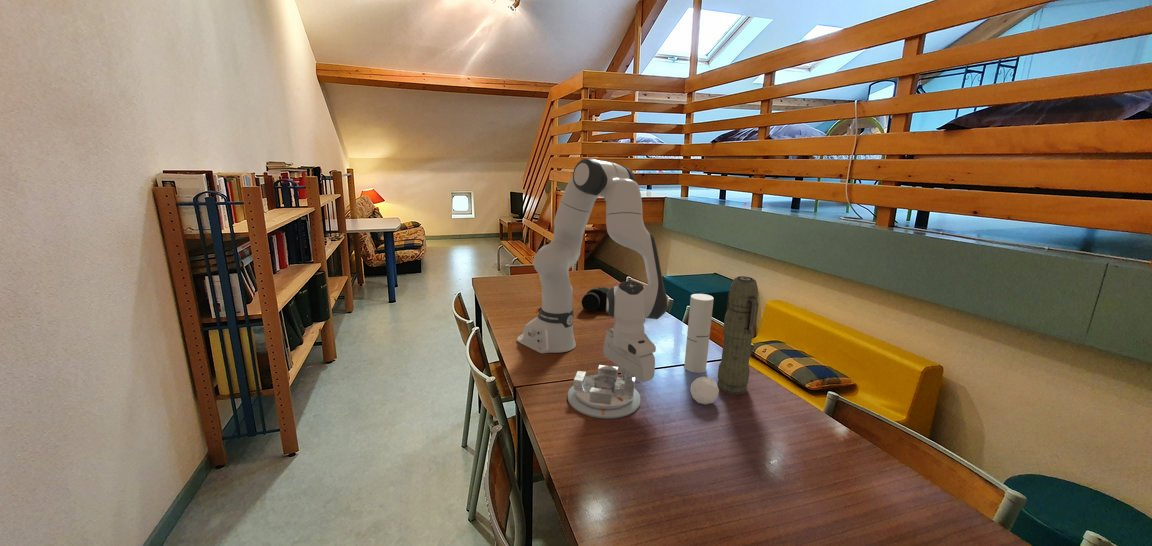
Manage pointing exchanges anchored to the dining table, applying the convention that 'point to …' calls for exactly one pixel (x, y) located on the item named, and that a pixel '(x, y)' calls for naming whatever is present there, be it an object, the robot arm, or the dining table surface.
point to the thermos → (738, 335)
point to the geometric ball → (704, 390)
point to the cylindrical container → (698, 332)
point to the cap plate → (603, 413)
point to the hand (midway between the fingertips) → (625, 381)
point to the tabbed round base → (604, 389)
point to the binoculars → (595, 299)
